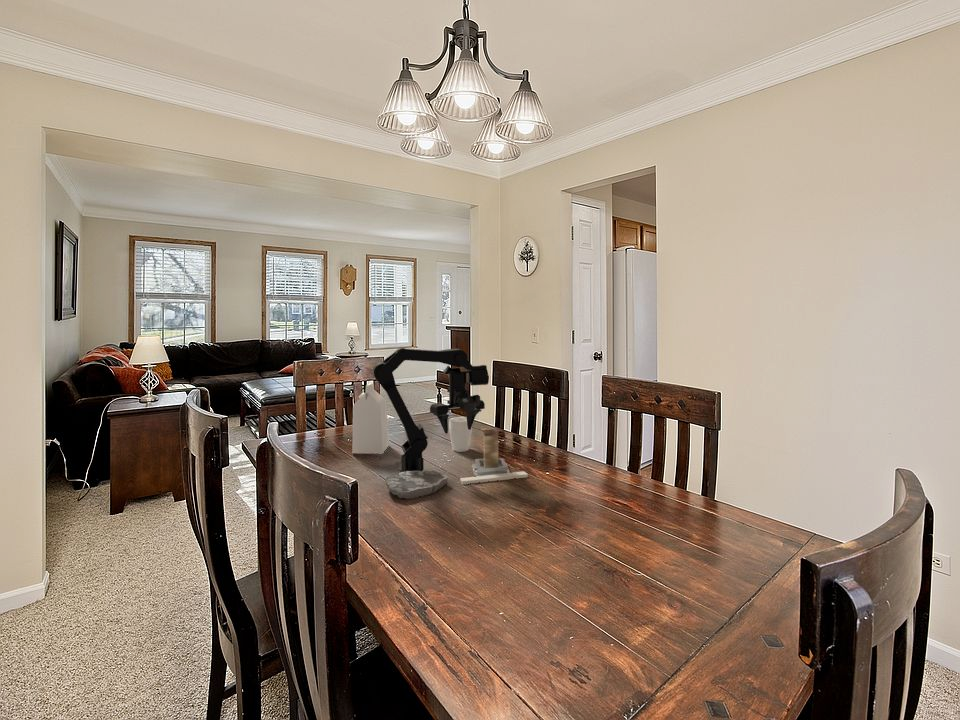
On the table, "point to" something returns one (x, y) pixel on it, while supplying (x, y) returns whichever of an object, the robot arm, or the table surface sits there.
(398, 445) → the table surface
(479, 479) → the door edge strip
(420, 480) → the brain slice
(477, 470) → the keeper
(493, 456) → the block
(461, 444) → the cup
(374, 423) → the milk
